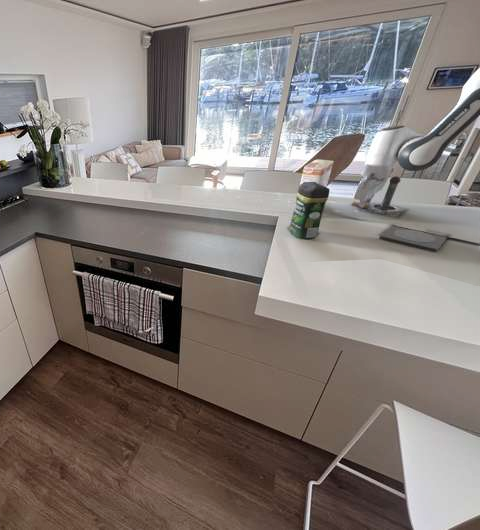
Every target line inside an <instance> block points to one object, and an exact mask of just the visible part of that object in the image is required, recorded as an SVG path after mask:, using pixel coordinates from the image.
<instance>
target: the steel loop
mask: <svg viewBox="0 0 480 530" xmlns="http://www.w3.org/2000/svg"><path fill="white" fill-rule="evenodd" d="M351 203H352V204H351V206H355V207H359V204H360V201H353V202H351ZM381 204H382V202H380V203H379V202H378V203H377V202H376V203H375V202H374V203H370V204H366V206H365V207H364V208H365V209H366V208H367V210H368V211H370V212H372V213H376V214H381V215H398V214H399V213H400V212H401V210H402V208H401V207H399V206H398V205H394V204H390V205H389V207H388V210H382V209H380V207H381Z"/></svg>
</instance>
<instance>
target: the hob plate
mask: <svg viewBox="0 0 480 530" xmlns="http://www.w3.org/2000/svg"><path fill="white" fill-rule="evenodd" d="M448 238H449V236H447V235H443V234H437V233H432V232H428V231H423V230H417V229H413V228H408V227H403V226H398V225H391V226H390V227H389V228H388V229H386V231H384V232H383V233H382V234H380V236H379V240H383V241H388V242H390V243H391V242H392V243H395V244H399V245H404V246H408V247H412V248H417V249H420V250H425V251H429V252H433V253H437V251H438V250H440V248H441V247H442V245H443V244H444V243H445V242H446V240H447V239H448Z"/></svg>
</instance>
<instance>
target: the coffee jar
mask: <svg viewBox="0 0 480 530" xmlns="http://www.w3.org/2000/svg"><path fill="white" fill-rule="evenodd" d="M329 197H330V188H328V186H327V187H325V186H323V185H320V184H318V183H316V182H304V183H302V184H301V185H300V184H299V186H298V189H297V192H296V200H295V205H294V208H293V212H292V215H291V219H290V223H289V226H288V231H289V232H290V233H291V235H293V236H294V237H296V238H298V239H305V240H310V239H311V240H312V239H315V238H316V237H318V233H319V230H320V226H321V221H322V218H323V213H324V209H325V205H326V203H327V201H328V199H329Z"/></svg>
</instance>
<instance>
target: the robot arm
mask: <svg viewBox="0 0 480 530" xmlns="http://www.w3.org/2000/svg"><path fill="white" fill-rule="evenodd" d="M479 117H480V67H479V68H478V69H477V70H476V71H475V72H474V73H473V74H472V75H471V76H470V77H469V78H468V80H467V81H466V82H465V83H464V85H463V86H462V89H461V94H460V97H459V100H458V102H457V104H456V105H455V106H454V108H453V109H452V110H451V111H450V112H449V113H448V114H447V116H445V118H443V119H442V120H440V122H439V123H438V124H437V125H436V126H435V127H434V128H433V129H432V130H431V131H430V132H428V133H427V134H426V135H425V134H421V133H419V132H416V131H414V130H412V129H410V128H408V127H407V126H406V125H403V124H400V125H399V124H398V125H392V126H387V127H383V128H381V129H380V130H379V131H377V132H376V134H375V136H374V138H373V140H372V142H371V145H370V147H369V149H368V156H367V159H366V161H365V163H364V165H363V168H362V171H361V173H360V175H361V177H363V179H362V180H361V181H360V182H359V184H358V186H357V189H356V191H355V194H354V199H355V200H357V201H359V202H360V204H359V206H358V208H361V209H363V208H365V206H366V204H371V202H372V200H373V198H374V197H375V194H377V193H379V192H381V191H382V190H383V189H384V187H385V185H387V184H386V183H387V182H388V179H389V178H390V177H391V174H392V173H394V170H395V164H396V163H398V165H399V166H400V167H401V168H402V169H404V170H405V171H408V172H420V171H423V170H427V169H429V168H431V167H432V166H434V165H435V164H436V163H437V162H438V161H439V160H440V159H441V157H442V155H443V153H444V151H445V150H446V148H447V147H448V146H449V145H450V144H451V142H453V140H455V139H456V138H457V137H458V136H459V135H460V134H462V132H463V131H464V130H466V129H467V128H468V127H469V126H470V125H471V124H472V123H473V122H474V121H475V120H477V119H478V118H479Z"/></svg>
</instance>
